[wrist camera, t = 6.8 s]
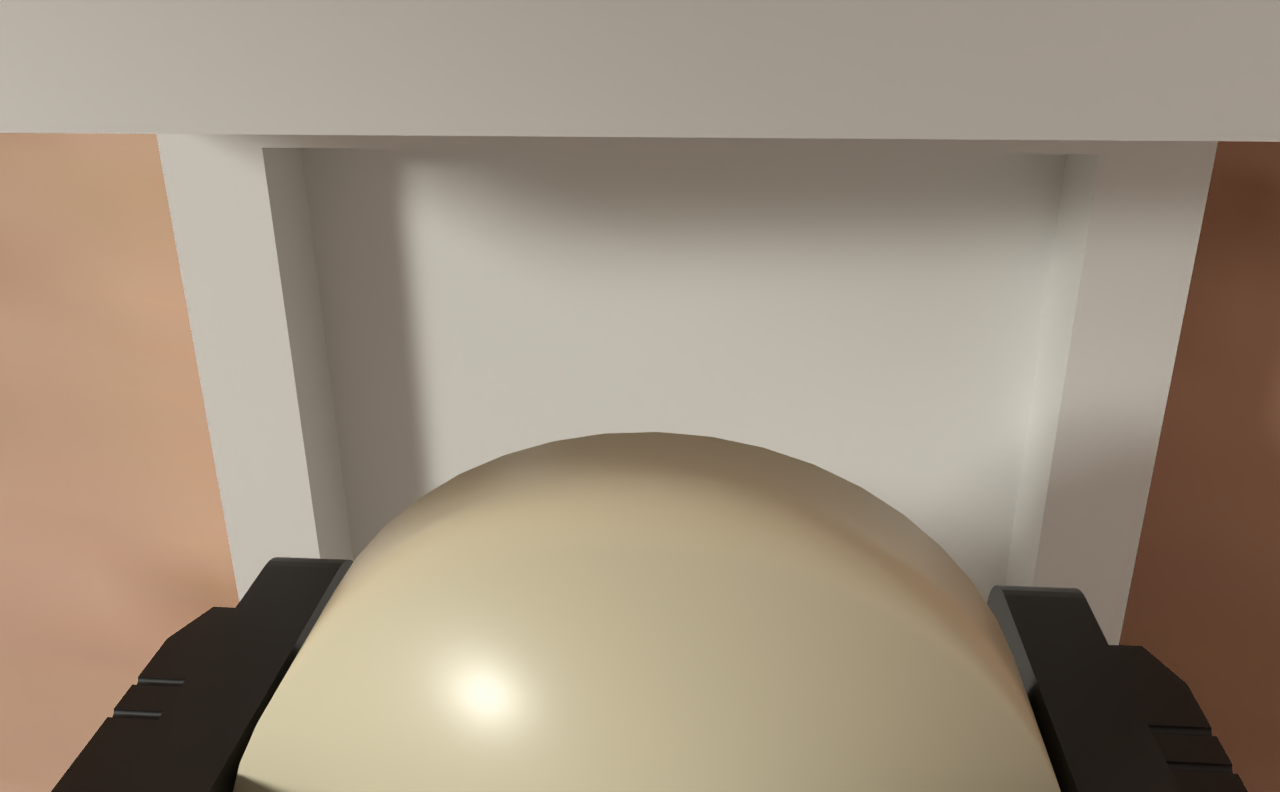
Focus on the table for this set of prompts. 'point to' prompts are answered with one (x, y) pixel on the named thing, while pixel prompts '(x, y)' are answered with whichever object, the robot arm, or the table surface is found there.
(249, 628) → the robot arm
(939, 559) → the cream domed part
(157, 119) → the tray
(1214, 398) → the table surface
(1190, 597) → the table surface
